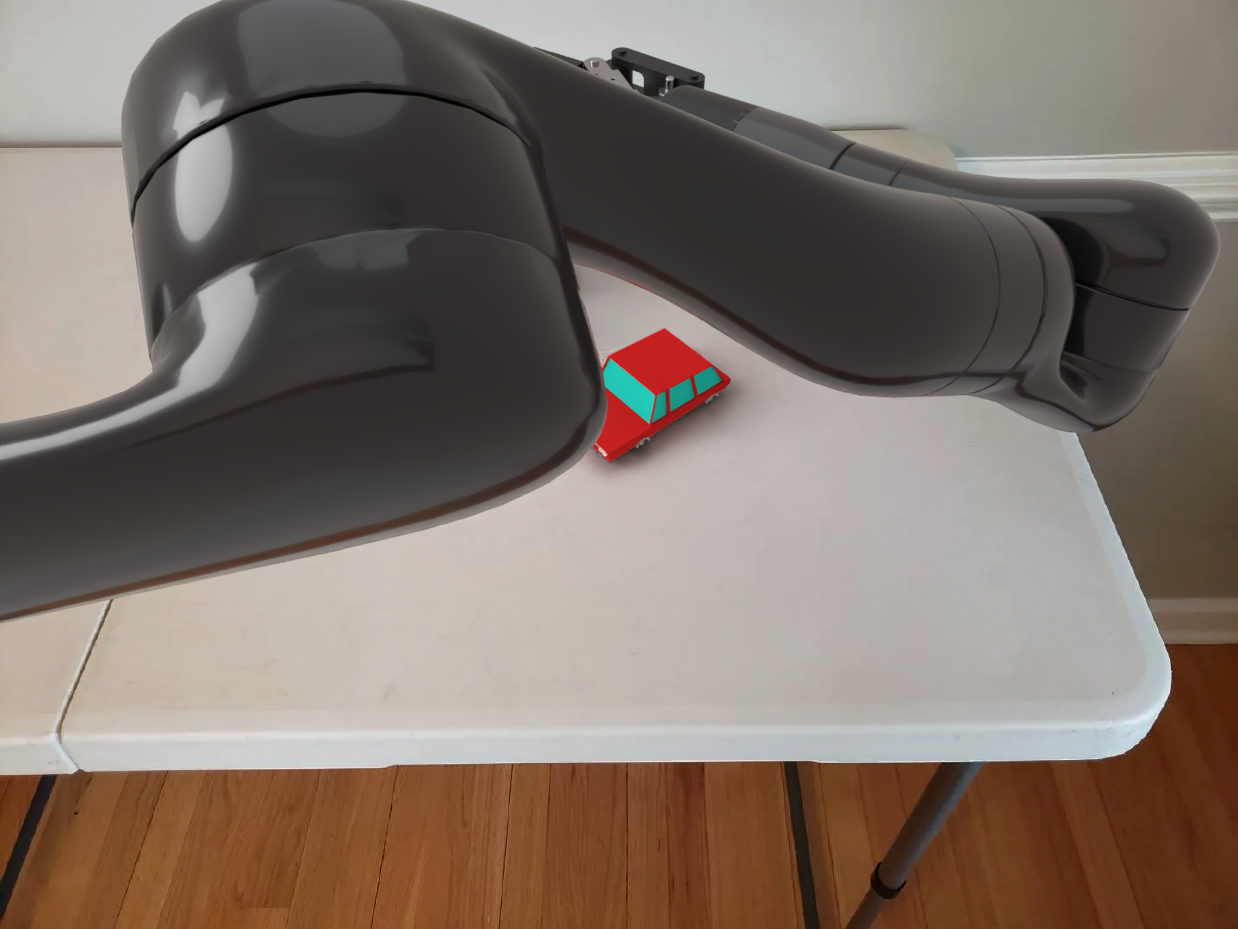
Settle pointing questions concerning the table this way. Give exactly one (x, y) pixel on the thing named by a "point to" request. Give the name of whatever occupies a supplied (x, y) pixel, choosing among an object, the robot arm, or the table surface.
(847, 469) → the table surface
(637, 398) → the toy car
